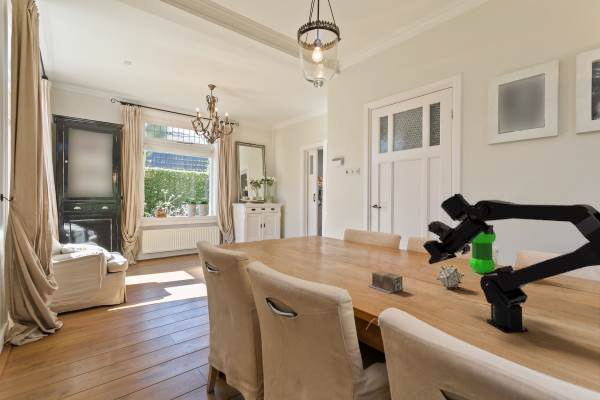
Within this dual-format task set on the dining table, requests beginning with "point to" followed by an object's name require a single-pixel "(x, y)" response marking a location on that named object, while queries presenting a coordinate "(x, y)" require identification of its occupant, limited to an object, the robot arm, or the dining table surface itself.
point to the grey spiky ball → (450, 277)
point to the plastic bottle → (482, 253)
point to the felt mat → (380, 289)
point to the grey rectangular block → (387, 281)
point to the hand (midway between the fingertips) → (429, 263)
